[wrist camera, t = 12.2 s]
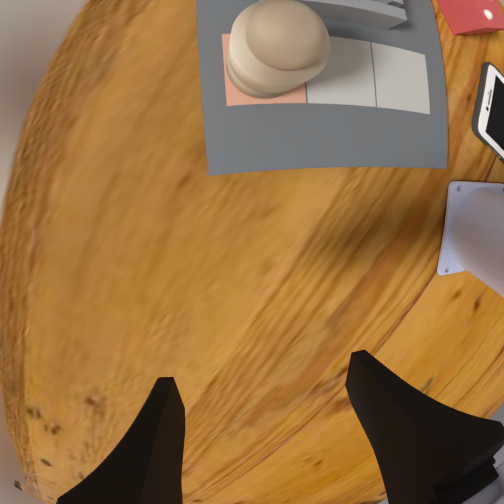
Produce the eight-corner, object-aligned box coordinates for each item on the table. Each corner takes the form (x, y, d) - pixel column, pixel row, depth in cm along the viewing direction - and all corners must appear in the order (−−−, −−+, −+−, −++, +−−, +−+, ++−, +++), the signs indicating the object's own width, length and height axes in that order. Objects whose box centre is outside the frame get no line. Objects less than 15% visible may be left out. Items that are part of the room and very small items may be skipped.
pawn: (295, 35, 13) (344, -16, 7) (300, 98, 15) (357, 78, 8) (224, 36, 13) (230, -25, 6) (228, 101, 14) (237, 75, 8)
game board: (411, -38, 11) (435, -52, 8) (438, 166, 18) (470, 175, 15) (195, -67, 10) (193, -95, 7) (209, 173, 17) (207, 182, 14)
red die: (459, -5, 12) (492, -15, 8) (478, 34, 14) (512, 28, 10) (432, -8, 12) (466, -22, 8) (453, 34, 14) (490, 26, 10)
